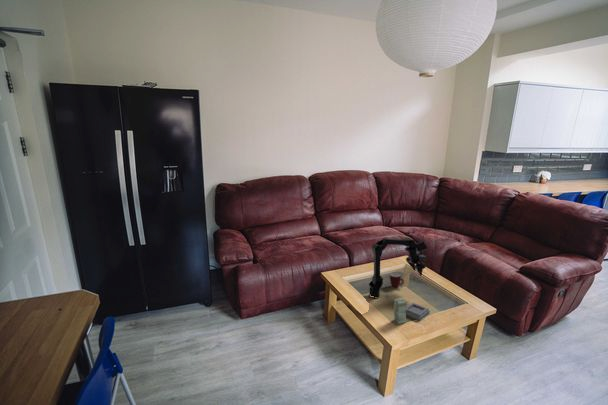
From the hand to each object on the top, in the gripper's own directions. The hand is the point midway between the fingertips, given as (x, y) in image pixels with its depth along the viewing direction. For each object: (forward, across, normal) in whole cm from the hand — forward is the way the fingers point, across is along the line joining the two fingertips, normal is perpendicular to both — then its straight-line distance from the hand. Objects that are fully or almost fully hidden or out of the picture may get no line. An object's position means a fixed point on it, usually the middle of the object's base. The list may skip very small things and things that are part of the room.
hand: (417, 272), depth 217 cm
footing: (+11, -28, +19) cm, 35 cm away
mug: (+12, +11, +15) cm, 22 cm away
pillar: (+7, -34, +33) cm, 48 cm away
